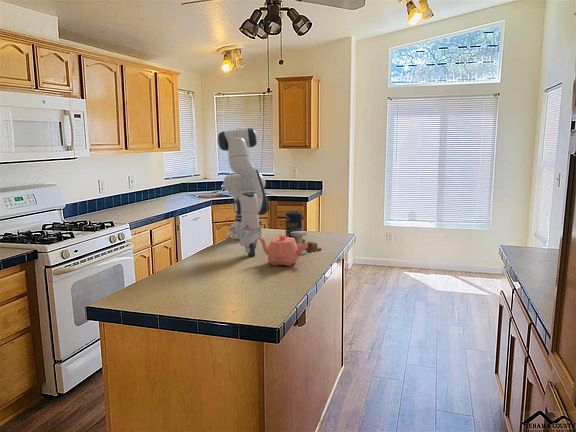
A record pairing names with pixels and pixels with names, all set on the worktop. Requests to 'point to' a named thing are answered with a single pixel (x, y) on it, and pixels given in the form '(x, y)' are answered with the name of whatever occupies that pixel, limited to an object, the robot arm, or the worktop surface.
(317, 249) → the board
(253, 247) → the cylinder
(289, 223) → the canister
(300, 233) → the bobbin
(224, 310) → the worktop surface
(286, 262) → the teapot
